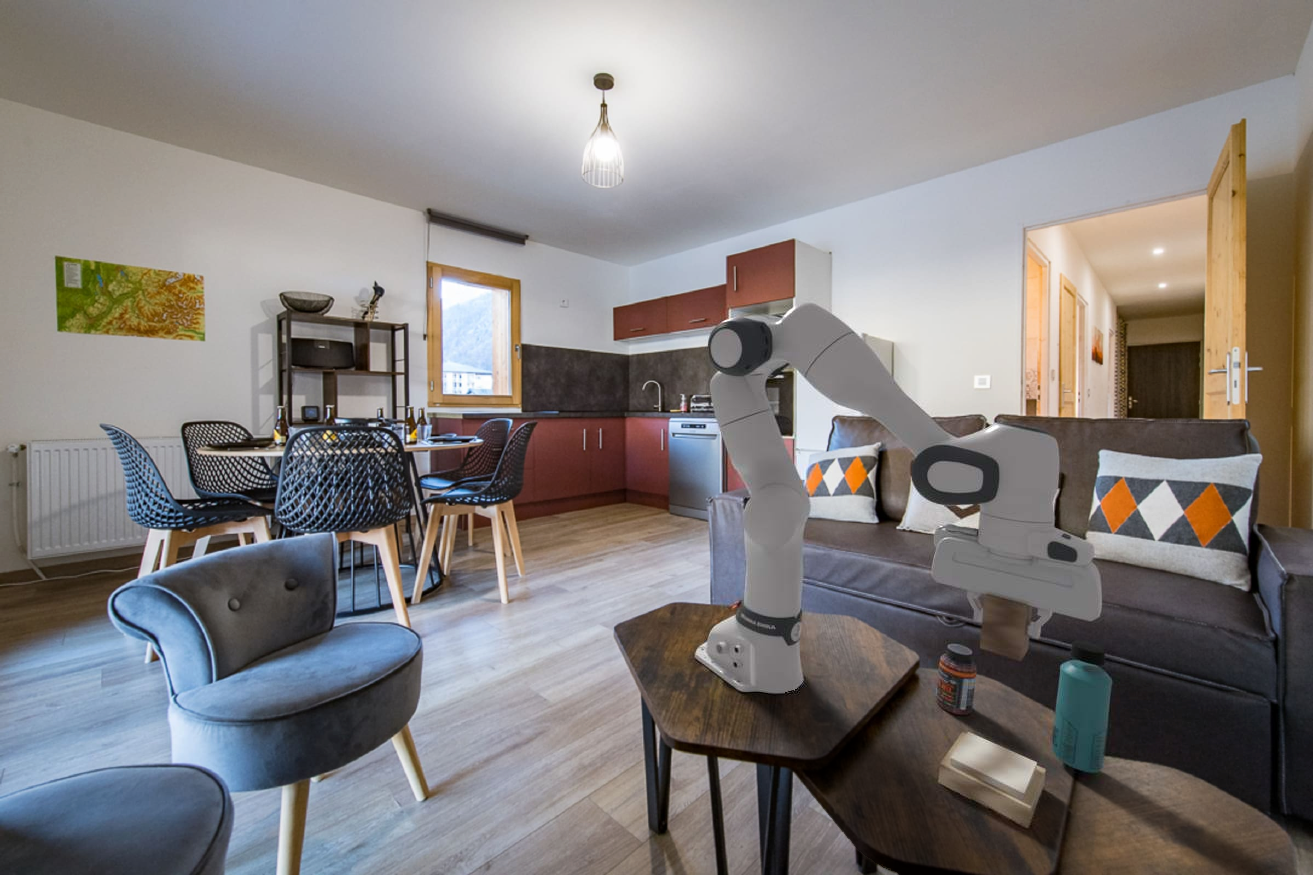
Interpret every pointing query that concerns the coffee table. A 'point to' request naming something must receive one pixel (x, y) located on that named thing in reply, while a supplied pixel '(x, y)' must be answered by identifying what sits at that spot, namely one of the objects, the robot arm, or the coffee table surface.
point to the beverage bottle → (1082, 709)
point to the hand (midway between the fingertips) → (1005, 628)
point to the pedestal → (993, 776)
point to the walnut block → (1005, 627)
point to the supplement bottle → (956, 680)
